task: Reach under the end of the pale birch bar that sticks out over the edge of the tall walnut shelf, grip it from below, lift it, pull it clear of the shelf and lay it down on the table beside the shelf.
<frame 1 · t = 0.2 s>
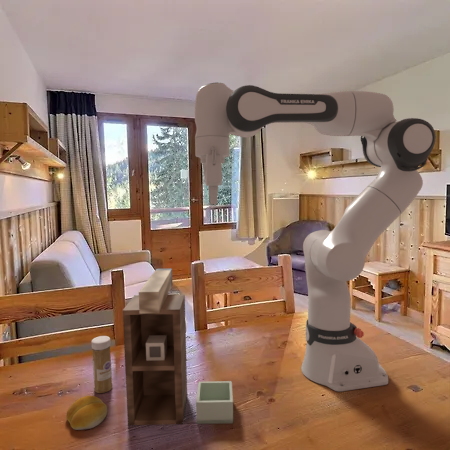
hand: (213, 203, 90), 47 cm above the table, tool pointing down, fingers open, 8 cm apart
green box: (215, 411, 79), on the table
birch bar: (158, 297, 80), point 26 cm above the table, touching walnut shelf
walnut shelf: (159, 409, 80), on the table
sprinkles bottle: (103, 389, 89), on the table
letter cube: (157, 355, 78), point 13 cm above the table, touching walnut shelf
bread roll: (87, 418, 78), on the table
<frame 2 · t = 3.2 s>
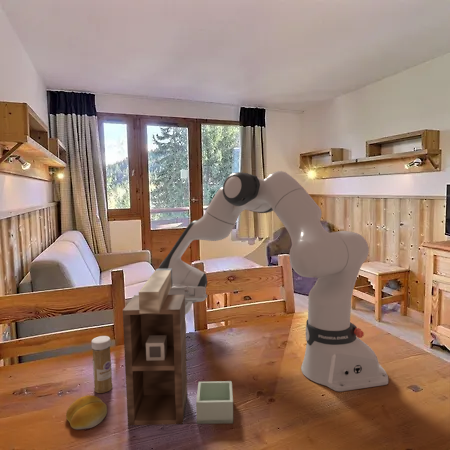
hand: (170, 289, 101), 22 cm above the table, tool pointing upward, fingers open, 8 cm apart
nothing on the table moved.
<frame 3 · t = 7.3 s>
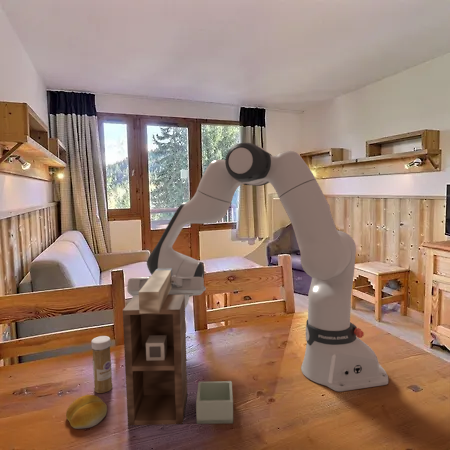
hand: (162, 278, 86), 29 cm above the table, tool pointing upward, fingers closed on birch bar, 4 cm apart
birch bar: (158, 297, 80), point 26 cm above the table, touching gripper, walnut shelf
everything else where it was.
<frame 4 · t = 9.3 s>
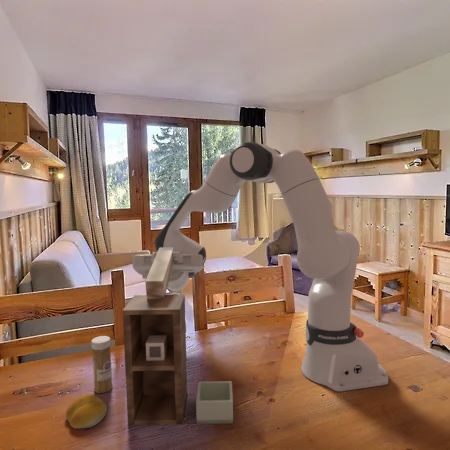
hand: (165, 254, 94), 33 cm above the table, tool pointing upward, fingers closed on birch bar, 4 cm apart
birch bar: (162, 278, 89), point 28 cm above the table, tilted 12°, touching gripper
everything else where it was.
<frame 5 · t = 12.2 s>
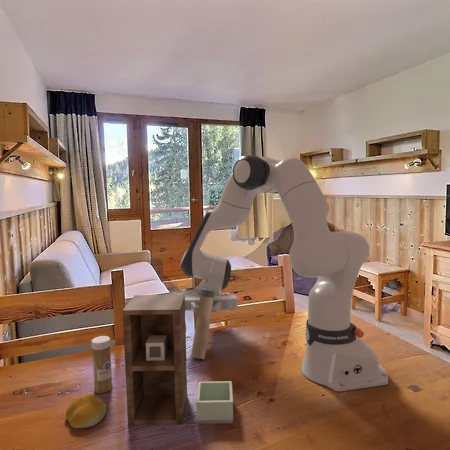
hand: (205, 309, 104), 15 cm above the table, tool horizontal, fingers closed on birch bar, 4 cm apart
birch bar: (203, 321, 107), point 10 cm above the table, tilted 77°, touching gripper
everything else where it was.
when the fingers open (12 cm above the table, at t = 13.2 s): birch bar moves 1 cm, point 9 cm above the table.
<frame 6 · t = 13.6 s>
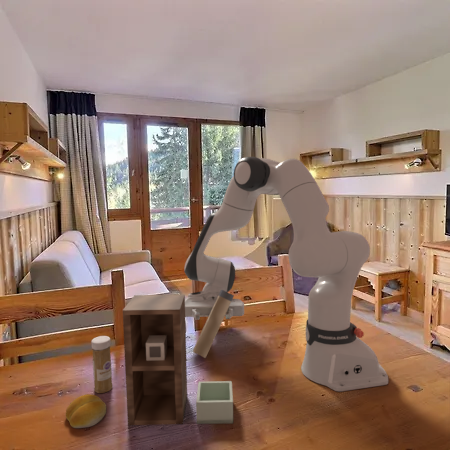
hand: (212, 317, 105), 12 cm above the table, tool horizontal, fingers open, 8 cm apart
birch bar: (213, 321, 108), point 9 cm above the table, tilted 74°, touching gripper
everything else where it was.
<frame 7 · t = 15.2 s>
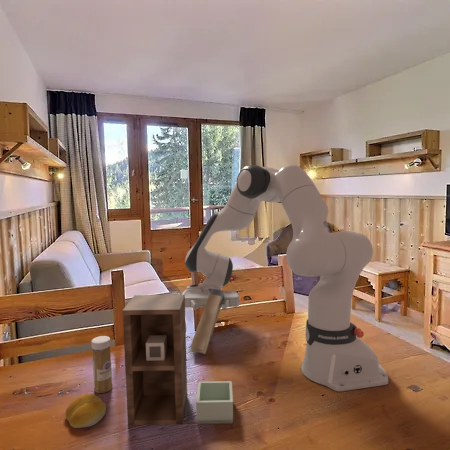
hand: (209, 307, 112), 12 cm above the table, tool horizontal, fingers open, 8 cm apart
birch bar: (209, 322, 112), point 7 cm above the table, tilted 45°, touching gripper
everything else where it was.
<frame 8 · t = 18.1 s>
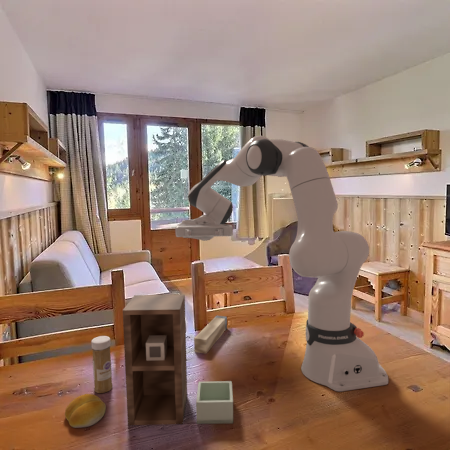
hand: (203, 233, 115), 36 cm above the table, tool horizontal, fingers open, 8 cm apart
birch bar: (211, 339, 117), on the table
everything else where it was.
at the end: birch bar inside the target area (13.5 cm from its centre), on the table; birch bar touching table; birch bar moved 44.2 cm from its start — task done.
